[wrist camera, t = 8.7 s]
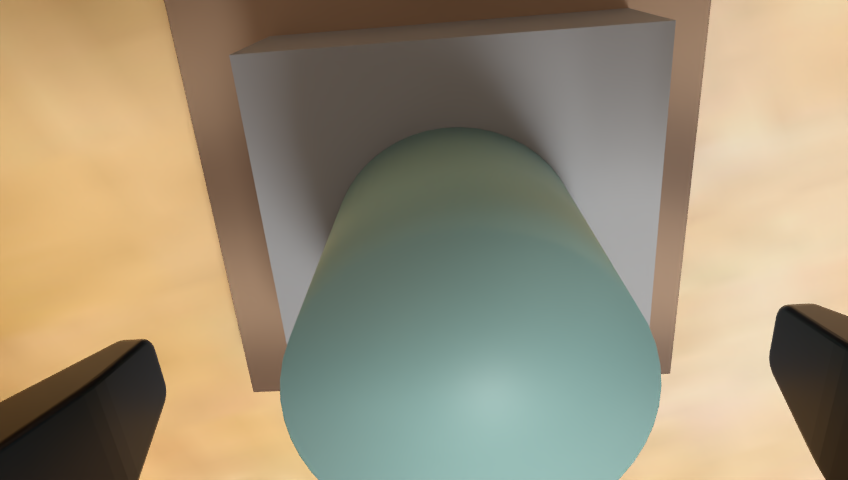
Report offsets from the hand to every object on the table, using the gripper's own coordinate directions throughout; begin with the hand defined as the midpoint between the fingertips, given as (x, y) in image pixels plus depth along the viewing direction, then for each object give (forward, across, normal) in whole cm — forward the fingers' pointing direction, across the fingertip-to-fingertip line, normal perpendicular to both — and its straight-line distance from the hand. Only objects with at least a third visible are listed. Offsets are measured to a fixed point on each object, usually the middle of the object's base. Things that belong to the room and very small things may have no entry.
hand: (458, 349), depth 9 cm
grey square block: (+7, 0, 0) cm, 7 cm away
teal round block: (+4, 0, 0) cm, 4 cm away
